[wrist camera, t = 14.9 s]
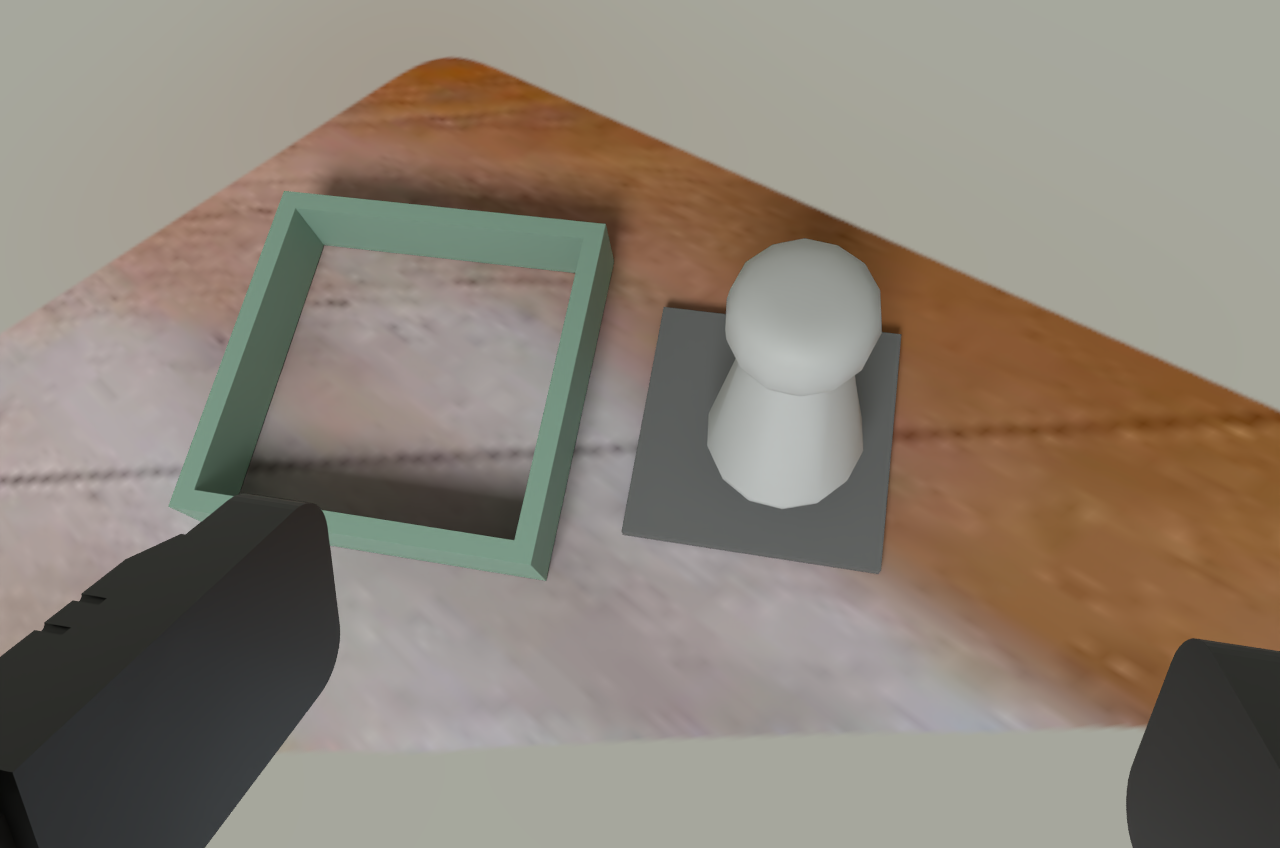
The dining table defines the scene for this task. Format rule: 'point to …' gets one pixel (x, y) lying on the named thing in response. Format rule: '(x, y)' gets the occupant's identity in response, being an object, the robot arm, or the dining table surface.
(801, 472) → the salt shaker
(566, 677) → the dining table surface
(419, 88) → the dining table surface
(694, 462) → the rubber mat
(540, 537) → the square frame
